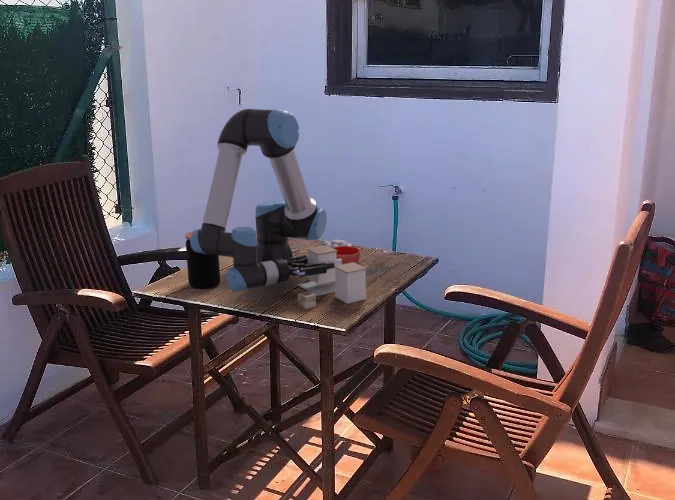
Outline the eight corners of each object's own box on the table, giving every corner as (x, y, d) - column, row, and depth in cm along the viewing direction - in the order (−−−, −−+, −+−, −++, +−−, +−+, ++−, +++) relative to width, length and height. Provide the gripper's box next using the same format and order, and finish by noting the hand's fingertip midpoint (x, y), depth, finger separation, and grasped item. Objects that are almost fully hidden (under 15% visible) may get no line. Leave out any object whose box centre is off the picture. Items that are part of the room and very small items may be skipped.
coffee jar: (226, 281, 252) (223, 231, 246) (211, 291, 242) (207, 239, 237) (198, 278, 255) (195, 228, 250) (183, 288, 245) (178, 236, 240)
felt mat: (298, 285, 246) (298, 284, 246) (328, 279, 252) (328, 278, 252) (316, 295, 236) (316, 294, 236) (347, 288, 243) (347, 287, 242)
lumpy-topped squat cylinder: (355, 261, 272) (354, 239, 269) (340, 271, 260) (340, 248, 258) (330, 258, 276) (329, 236, 273) (314, 268, 264) (314, 245, 262)
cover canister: (307, 278, 244) (306, 248, 242) (326, 274, 248) (325, 245, 245) (318, 284, 238) (317, 253, 236) (337, 280, 242) (337, 250, 239)
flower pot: (357, 282, 249) (357, 255, 246) (326, 280, 251) (325, 253, 248) (362, 272, 258) (362, 246, 256) (332, 271, 261) (332, 245, 258)
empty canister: (334, 297, 235) (334, 266, 232) (353, 292, 239) (353, 262, 236) (347, 303, 229) (346, 272, 226) (366, 299, 233) (366, 268, 230)
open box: (298, 306, 228) (297, 293, 227) (307, 302, 231) (307, 290, 230) (306, 309, 225) (306, 297, 224) (316, 306, 228) (315, 293, 227)
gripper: (260, 274, 242) (319, 263, 253) (289, 291, 226) (351, 278, 237) (259, 253, 240) (319, 242, 251) (288, 268, 223) (351, 256, 235)
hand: (334, 260), depth 244 cm, fingers closed on cover canister, 7 cm apart
